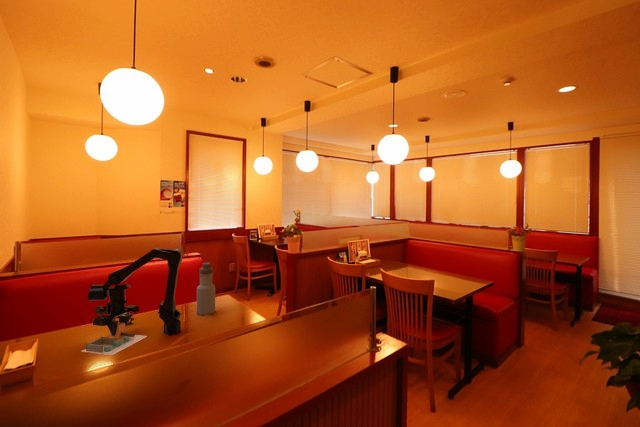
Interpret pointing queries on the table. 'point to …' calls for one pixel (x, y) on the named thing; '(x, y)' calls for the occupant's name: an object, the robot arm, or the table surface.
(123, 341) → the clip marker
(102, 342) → the end holder
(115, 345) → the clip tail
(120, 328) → the block
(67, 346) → the table surface
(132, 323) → the valve
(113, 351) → the board
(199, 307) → the water bottle
